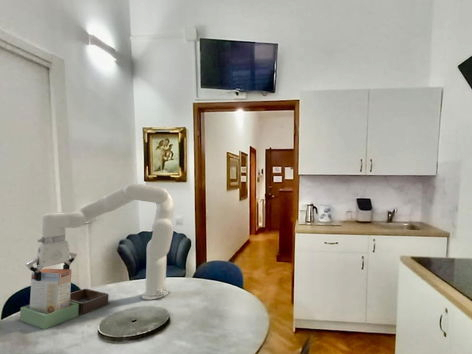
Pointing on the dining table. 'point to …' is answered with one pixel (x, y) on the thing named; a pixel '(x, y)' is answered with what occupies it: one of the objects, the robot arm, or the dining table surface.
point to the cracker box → (51, 291)
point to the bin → (48, 316)
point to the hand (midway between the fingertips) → (52, 276)
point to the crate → (94, 296)
